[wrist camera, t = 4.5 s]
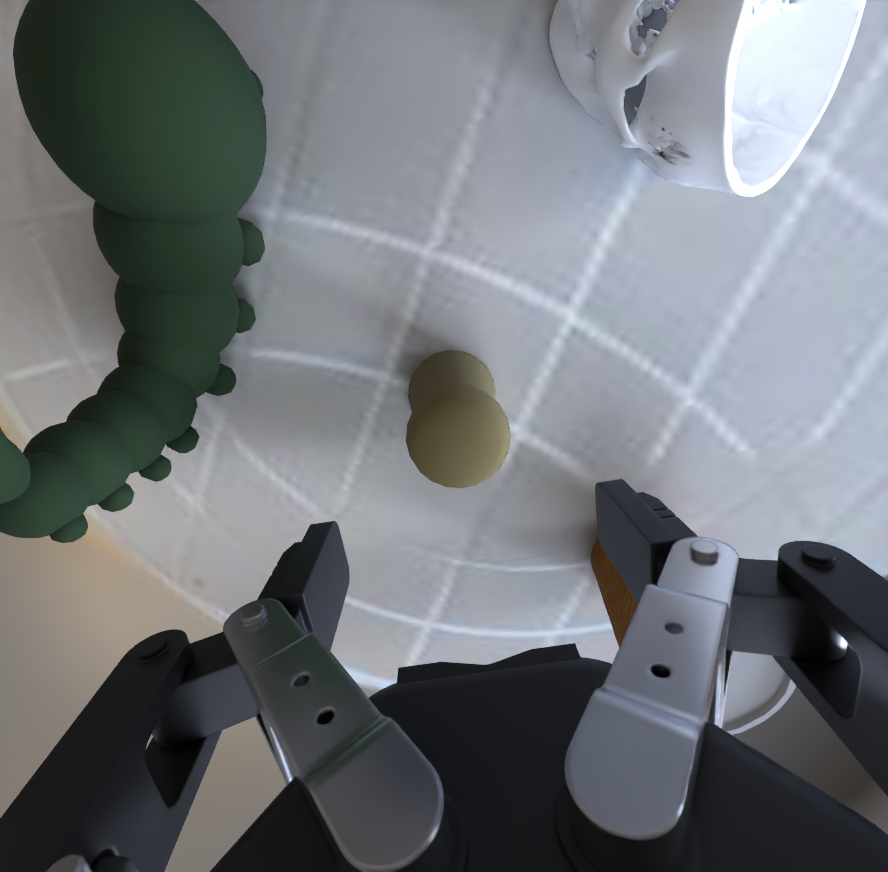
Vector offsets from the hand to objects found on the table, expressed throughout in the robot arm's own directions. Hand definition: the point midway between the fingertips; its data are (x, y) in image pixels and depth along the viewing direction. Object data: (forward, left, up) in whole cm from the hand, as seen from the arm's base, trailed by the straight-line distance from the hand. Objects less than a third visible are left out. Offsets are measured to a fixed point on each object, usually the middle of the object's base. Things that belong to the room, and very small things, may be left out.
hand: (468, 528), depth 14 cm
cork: (0, 0, -19) cm, 19 cm away
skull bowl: (-15, -16, -19) cm, 29 cm away
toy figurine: (+13, -12, -19) cm, 26 cm away
